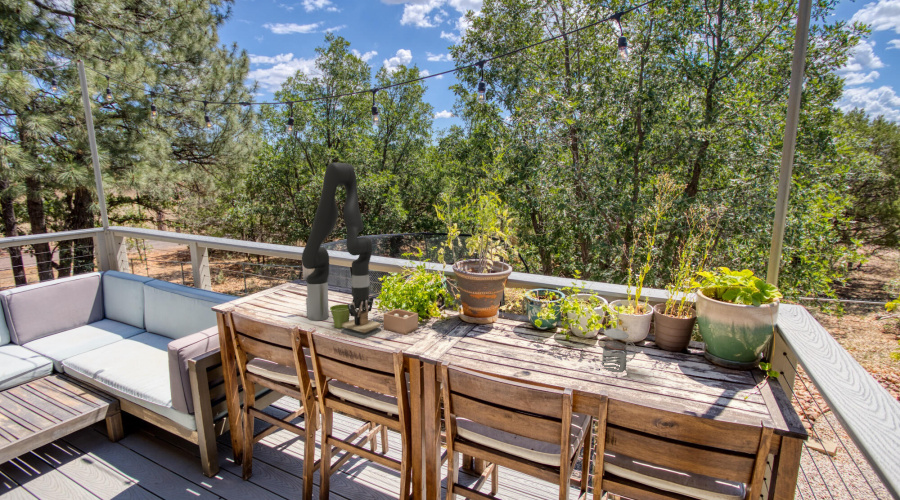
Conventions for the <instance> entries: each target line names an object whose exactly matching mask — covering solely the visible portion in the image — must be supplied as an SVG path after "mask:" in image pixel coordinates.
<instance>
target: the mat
mask: <svg viewBox="0 0 900 500" xmlns="http://www.w3.org/2000/svg"><path fill="white" fill-rule="evenodd" d="M380 332H382V328H380V327H377V328H375V329H372V330H370V331H368V332H365V333H364V332H360V331H356V330H353V329H349V328H342V329H341V330H340V333H342V334H345V335H349V336H353V337H355V338H360V339H367V338H369V337H371V336H373V335H376V334H379V333H380Z"/></svg>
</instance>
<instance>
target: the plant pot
mask: <svg viewBox="0 0 900 500" xmlns="http://www.w3.org/2000/svg"><path fill="white" fill-rule="evenodd" d="M347 305H348V304H341V303H340V304H336V305H332V306H330V307H329V310H330V312H331V316H332V320H333V326H334V328H335V329H345V327H342V324H343V323H345V322H348V321H350V317H351V315H350V312H349V309H348V306H347Z"/></svg>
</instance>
